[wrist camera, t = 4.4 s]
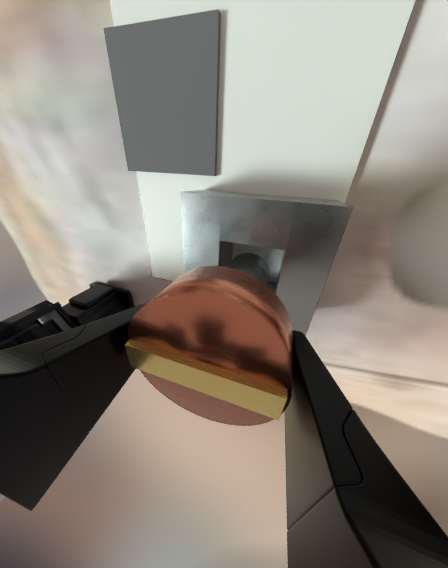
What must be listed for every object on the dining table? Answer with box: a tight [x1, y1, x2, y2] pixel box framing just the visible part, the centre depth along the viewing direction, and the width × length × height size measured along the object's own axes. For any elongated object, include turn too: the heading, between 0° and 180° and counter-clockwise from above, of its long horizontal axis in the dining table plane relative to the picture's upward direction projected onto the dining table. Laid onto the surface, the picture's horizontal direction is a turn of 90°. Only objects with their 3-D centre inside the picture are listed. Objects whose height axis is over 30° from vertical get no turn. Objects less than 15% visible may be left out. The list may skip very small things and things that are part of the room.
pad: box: [104, 9, 221, 176], centre depth 13 cm, size 8×8×1 cm
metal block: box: [180, 189, 353, 335], centre depth 15 cm, size 10×10×4 cm
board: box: [110, 0, 415, 282], centre depth 15 cm, size 21×17×1 cm
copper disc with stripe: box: [125, 253, 292, 426], centre depth 10 cm, size 6×6×9 cm
